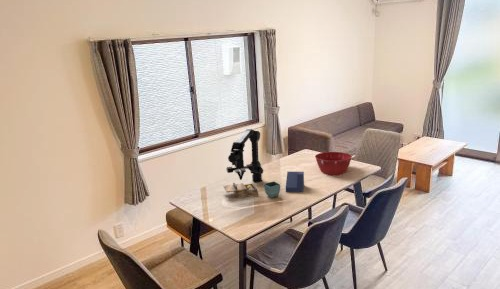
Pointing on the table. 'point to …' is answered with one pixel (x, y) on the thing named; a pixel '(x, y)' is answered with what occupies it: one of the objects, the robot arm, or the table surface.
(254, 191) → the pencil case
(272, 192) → the flower pot
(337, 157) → the mixing bowl
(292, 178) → the phone stand
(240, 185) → the lid
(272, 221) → the table surface
